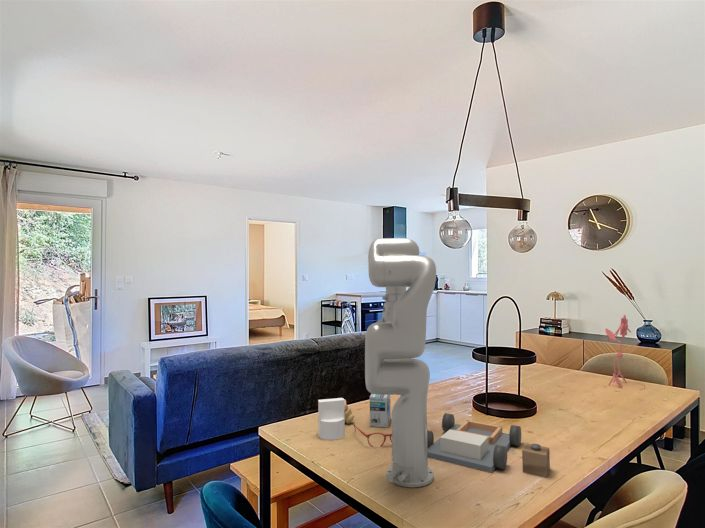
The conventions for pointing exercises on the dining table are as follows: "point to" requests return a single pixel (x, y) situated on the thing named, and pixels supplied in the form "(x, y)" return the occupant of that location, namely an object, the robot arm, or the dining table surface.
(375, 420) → the light bulb box
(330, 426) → the cylinder with rectangular tab
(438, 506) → the dining table surface
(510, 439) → the toy car chassis
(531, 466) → the brown rectangular block
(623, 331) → the pink coral sprig
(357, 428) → the red eyeglasses
